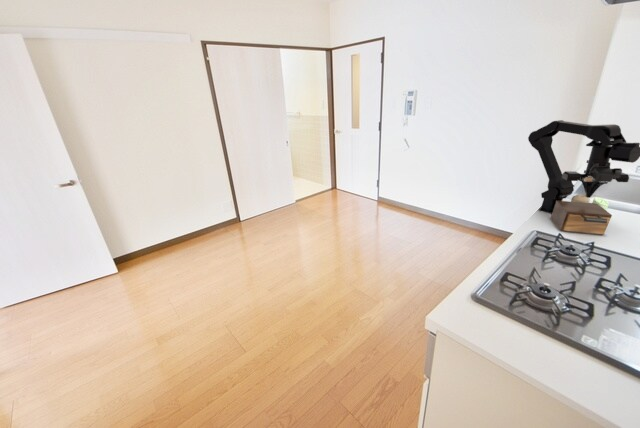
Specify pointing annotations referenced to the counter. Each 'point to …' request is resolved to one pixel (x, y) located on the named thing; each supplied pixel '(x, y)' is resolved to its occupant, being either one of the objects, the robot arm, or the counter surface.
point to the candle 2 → (601, 202)
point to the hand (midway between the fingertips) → (588, 197)
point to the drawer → (586, 223)
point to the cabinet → (575, 212)
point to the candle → (580, 198)
